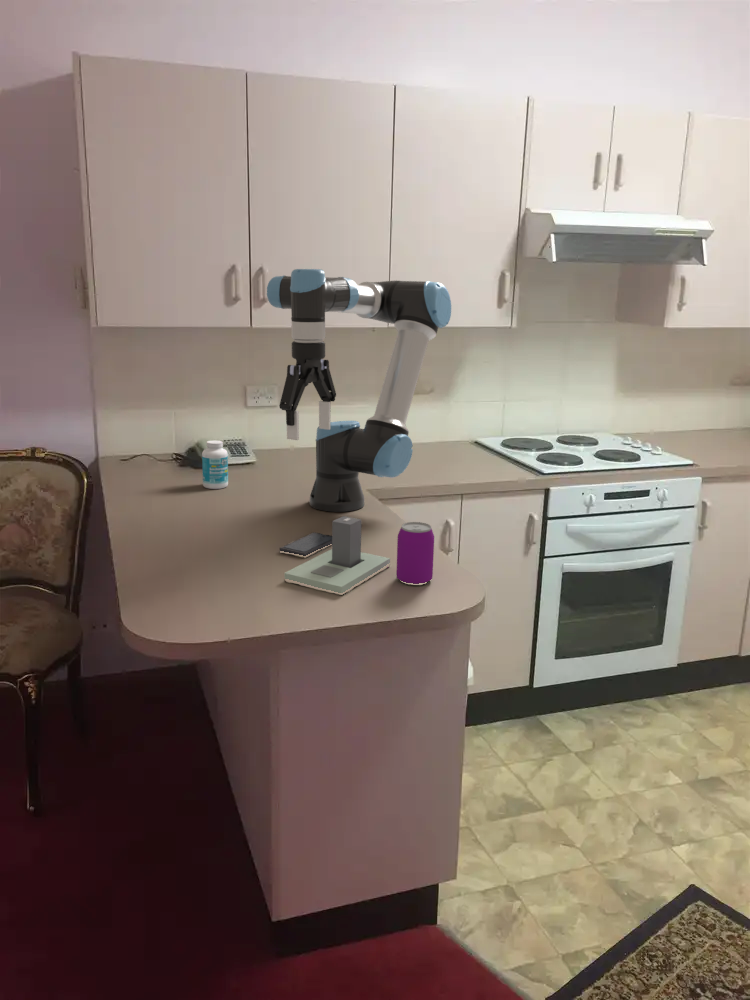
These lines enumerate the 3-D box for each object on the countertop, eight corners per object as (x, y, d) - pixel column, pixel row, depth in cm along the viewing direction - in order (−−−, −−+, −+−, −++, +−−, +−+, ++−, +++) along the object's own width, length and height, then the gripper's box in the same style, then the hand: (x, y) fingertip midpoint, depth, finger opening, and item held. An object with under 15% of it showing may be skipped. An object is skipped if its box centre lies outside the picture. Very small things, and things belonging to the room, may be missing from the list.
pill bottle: (210, 491, 236) (209, 445, 232) (198, 485, 241) (196, 441, 238) (233, 487, 240) (232, 442, 237) (220, 482, 246) (219, 438, 242)
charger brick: (342, 563, 179) (343, 515, 176) (360, 567, 177) (361, 518, 174) (331, 569, 176) (332, 520, 172) (349, 573, 173) (350, 523, 170)
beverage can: (394, 574, 175) (396, 520, 172) (429, 573, 175) (432, 520, 172) (397, 587, 168) (399, 532, 164) (434, 587, 168) (437, 532, 165)
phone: (313, 536, 198) (313, 531, 197) (338, 542, 194) (338, 536, 194) (279, 552, 186) (279, 547, 186) (304, 558, 183) (304, 553, 182)
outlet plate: (336, 554, 186) (336, 545, 185) (389, 566, 179) (390, 557, 178) (284, 581, 169) (284, 572, 168) (341, 596, 162) (341, 585, 162)
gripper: (323, 335, 194) (323, 423, 200) (261, 344, 173) (264, 442, 179) (350, 337, 190) (350, 426, 196) (291, 346, 169) (292, 446, 175)
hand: (309, 434), depth 188 cm, fingers open, 13 cm apart
